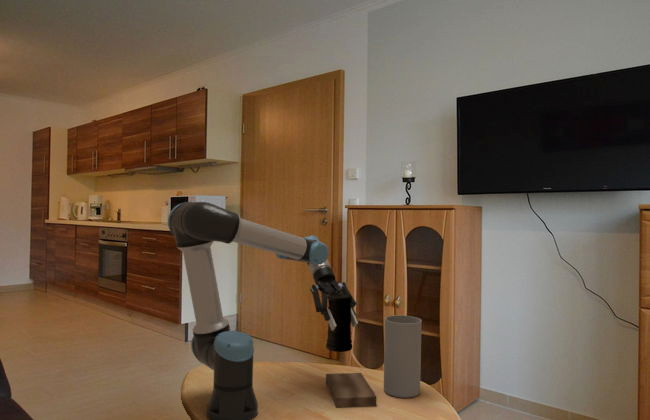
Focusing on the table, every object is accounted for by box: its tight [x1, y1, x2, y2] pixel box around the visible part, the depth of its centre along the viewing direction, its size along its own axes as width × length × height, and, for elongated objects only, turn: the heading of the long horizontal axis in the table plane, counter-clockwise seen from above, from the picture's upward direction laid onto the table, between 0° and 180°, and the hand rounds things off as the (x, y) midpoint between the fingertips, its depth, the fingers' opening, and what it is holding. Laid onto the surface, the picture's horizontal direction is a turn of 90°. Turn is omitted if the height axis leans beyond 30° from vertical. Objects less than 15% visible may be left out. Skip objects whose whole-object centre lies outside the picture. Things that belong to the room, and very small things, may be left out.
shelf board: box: [325, 372, 377, 409], centre depth 155 cm, size 13×22×3 cm, turn 8°
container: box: [325, 294, 353, 353], centre depth 156 cm, size 9×9×18 cm
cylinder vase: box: [383, 314, 423, 399], centre depth 158 cm, size 12×12×25 cm
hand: (344, 326), depth 153 cm, fingers closed on container, 8 cm apart
